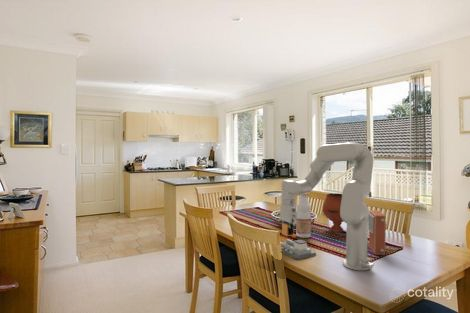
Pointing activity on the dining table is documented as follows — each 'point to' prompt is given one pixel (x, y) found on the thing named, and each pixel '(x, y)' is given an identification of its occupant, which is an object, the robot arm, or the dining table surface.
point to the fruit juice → (303, 217)
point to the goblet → (333, 210)
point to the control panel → (377, 232)
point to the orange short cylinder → (286, 228)
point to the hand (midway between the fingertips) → (287, 233)
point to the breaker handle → (300, 245)
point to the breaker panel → (295, 250)
